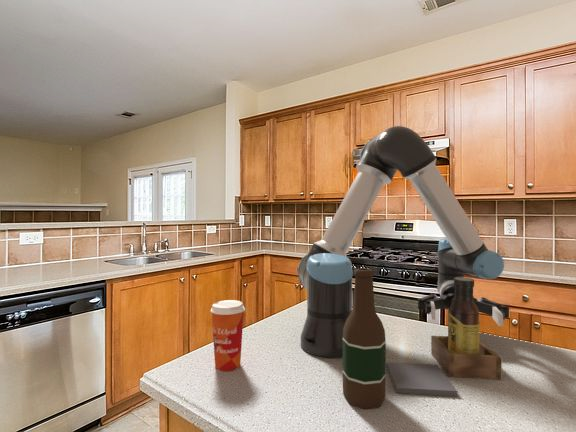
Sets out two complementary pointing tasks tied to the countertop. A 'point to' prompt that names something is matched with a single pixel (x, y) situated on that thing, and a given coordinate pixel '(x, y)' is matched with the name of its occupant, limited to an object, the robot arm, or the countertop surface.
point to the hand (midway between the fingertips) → (466, 317)
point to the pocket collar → (466, 360)
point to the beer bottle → (364, 347)
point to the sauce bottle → (463, 319)
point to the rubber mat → (420, 379)
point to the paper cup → (227, 333)
